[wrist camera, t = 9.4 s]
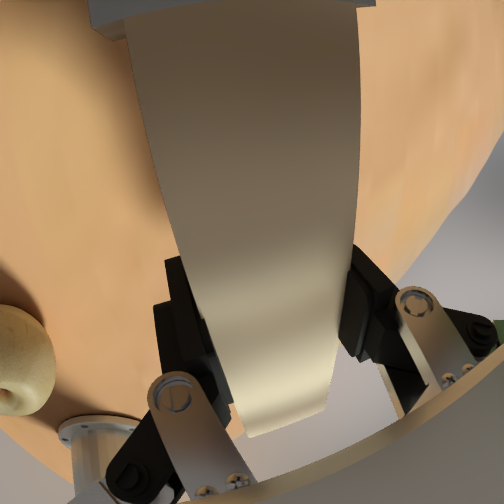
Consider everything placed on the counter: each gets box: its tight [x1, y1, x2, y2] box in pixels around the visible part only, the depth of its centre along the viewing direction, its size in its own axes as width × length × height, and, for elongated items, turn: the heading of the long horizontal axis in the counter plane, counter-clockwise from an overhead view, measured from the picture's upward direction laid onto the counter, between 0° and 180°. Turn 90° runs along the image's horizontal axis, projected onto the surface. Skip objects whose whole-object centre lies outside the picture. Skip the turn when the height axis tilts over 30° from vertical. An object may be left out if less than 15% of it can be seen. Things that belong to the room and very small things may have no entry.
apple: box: [0, 304, 56, 416], centre depth 15 cm, size 8×8×8 cm
